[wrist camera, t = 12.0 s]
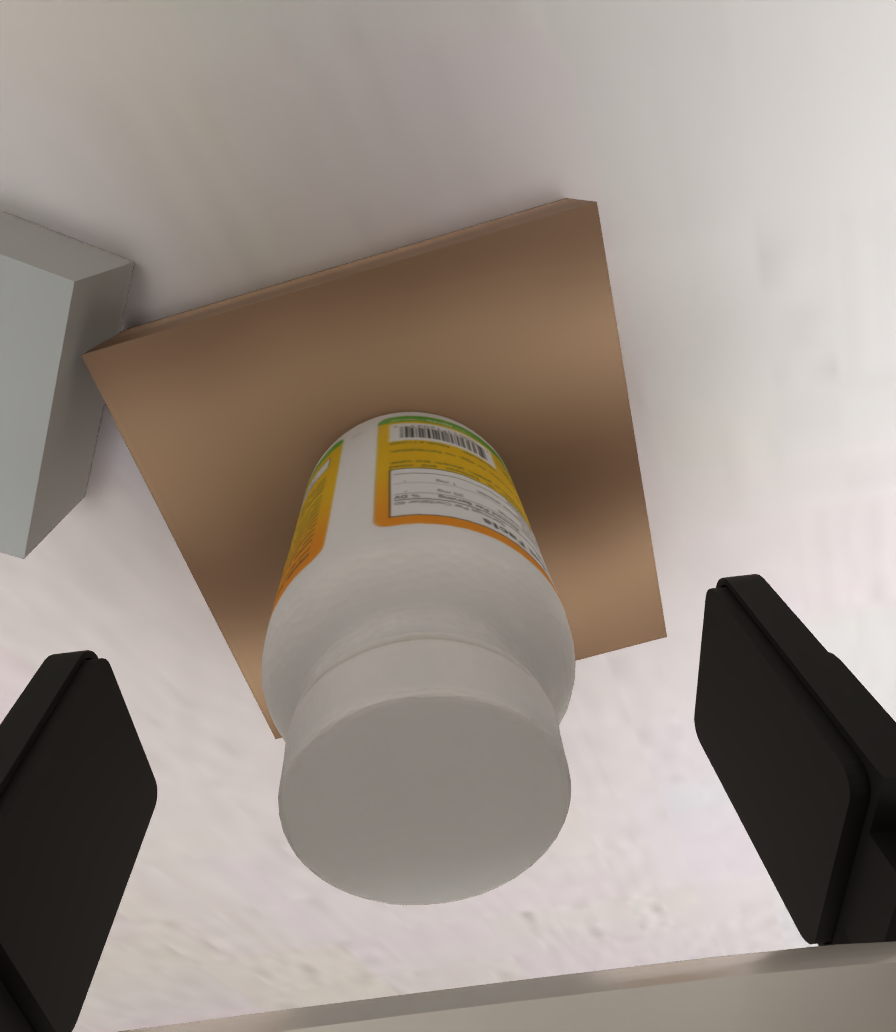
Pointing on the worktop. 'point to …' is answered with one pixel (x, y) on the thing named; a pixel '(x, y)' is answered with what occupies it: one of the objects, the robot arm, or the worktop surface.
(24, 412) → the slate block
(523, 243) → the walnut block
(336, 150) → the worktop surface
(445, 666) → the supplement bottle
